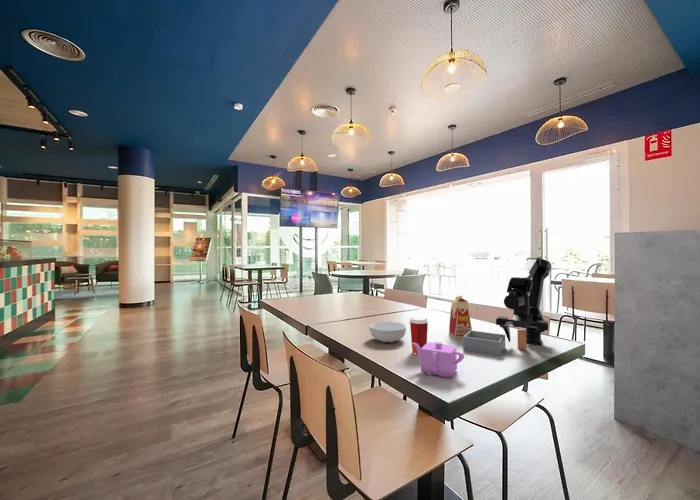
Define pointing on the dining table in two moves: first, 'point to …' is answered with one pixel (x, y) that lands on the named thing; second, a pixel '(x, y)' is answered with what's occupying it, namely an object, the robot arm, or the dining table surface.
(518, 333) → the peg
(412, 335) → the paper cup
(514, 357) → the dining table surface
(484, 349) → the box
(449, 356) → the teapot
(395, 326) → the cereal bowl
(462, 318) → the milk carton
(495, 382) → the dining table surface
